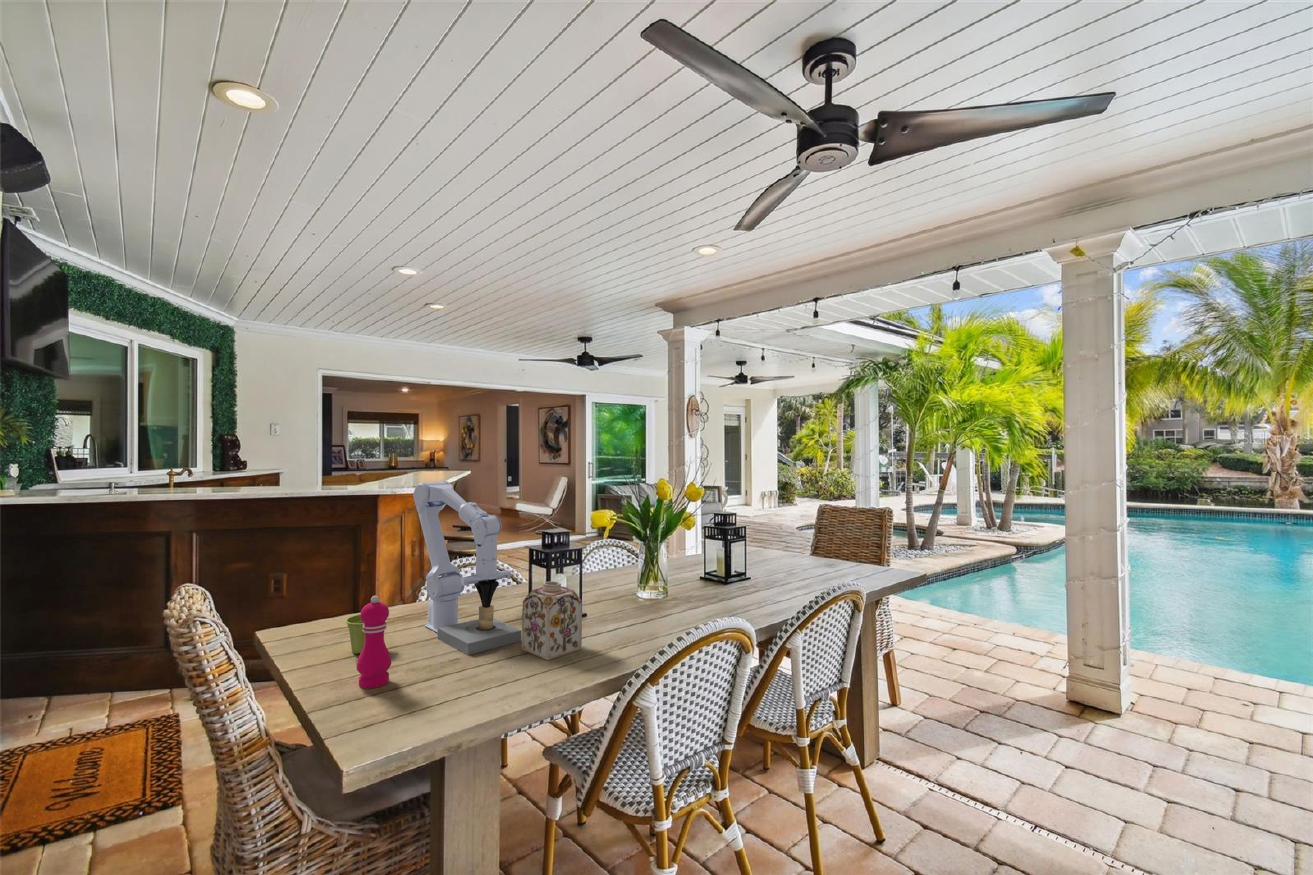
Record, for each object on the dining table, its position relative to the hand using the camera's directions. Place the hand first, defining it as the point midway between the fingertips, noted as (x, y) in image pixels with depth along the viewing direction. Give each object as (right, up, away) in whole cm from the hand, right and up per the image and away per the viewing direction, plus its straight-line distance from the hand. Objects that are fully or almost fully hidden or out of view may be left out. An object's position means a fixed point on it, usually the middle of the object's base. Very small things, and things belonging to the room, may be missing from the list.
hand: (486, 607), depth 167 cm
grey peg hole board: (-1, -9, -1) cm, 9 cm away
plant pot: (-29, -9, -10) cm, 32 cm away
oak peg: (0, -9, 0) cm, 9 cm away
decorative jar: (+20, -9, -9) cm, 24 cm away
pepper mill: (-17, -9, -32) cm, 37 cm away
